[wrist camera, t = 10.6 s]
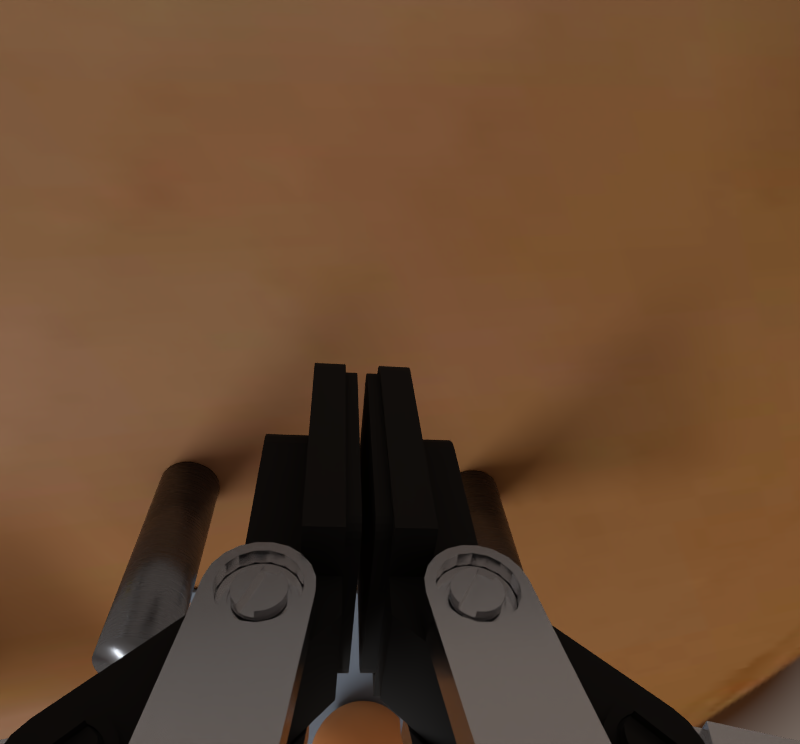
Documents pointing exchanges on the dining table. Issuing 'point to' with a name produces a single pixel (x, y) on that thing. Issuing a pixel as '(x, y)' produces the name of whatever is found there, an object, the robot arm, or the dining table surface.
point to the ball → (360, 725)
